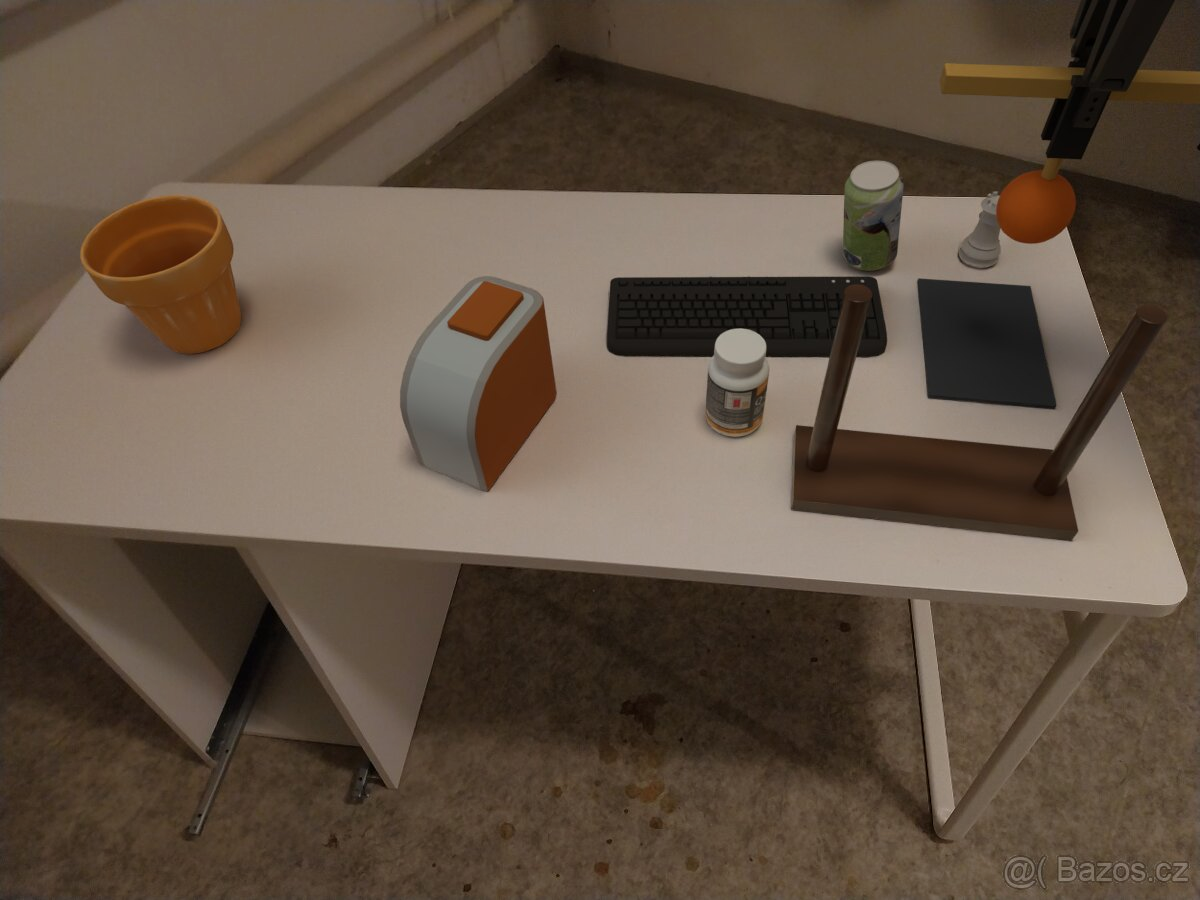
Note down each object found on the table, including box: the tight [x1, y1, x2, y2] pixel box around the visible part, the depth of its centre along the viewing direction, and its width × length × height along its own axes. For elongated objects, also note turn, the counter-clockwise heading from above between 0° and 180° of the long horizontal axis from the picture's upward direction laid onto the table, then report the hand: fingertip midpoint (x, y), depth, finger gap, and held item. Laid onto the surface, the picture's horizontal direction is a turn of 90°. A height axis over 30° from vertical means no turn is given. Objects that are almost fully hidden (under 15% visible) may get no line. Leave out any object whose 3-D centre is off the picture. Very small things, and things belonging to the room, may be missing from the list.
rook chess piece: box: [958, 191, 1002, 269], centre depth 93 cm, size 4×4×8 cm
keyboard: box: [606, 275, 888, 358], centre depth 91 cm, size 30×11×2 cm, turn 87°
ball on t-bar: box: [939, 62, 1200, 245], centre depth 72 cm, size 6×22×16 cm, turn 80°
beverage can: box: [842, 159, 905, 272], centre depth 92 cm, size 6×7×12 cm
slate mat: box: [916, 277, 1058, 410], centre depth 88 cm, size 18×12×1 cm, turn 170°
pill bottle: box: [705, 328, 770, 438], centre depth 79 cm, size 6×6×10 cm
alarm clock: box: [399, 275, 558, 493], centre depth 79 cm, size 15×8×14 cm, turn 152°
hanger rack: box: [790, 284, 1169, 542], centre depth 68 cm, size 9×24×22 cm, turn 80°
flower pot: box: [79, 194, 242, 355], centre depth 91 cm, size 14×14×13 cm
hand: (1060, 146), depth 71 cm, fingers closed on ball on t-bar, 2 cm apart
